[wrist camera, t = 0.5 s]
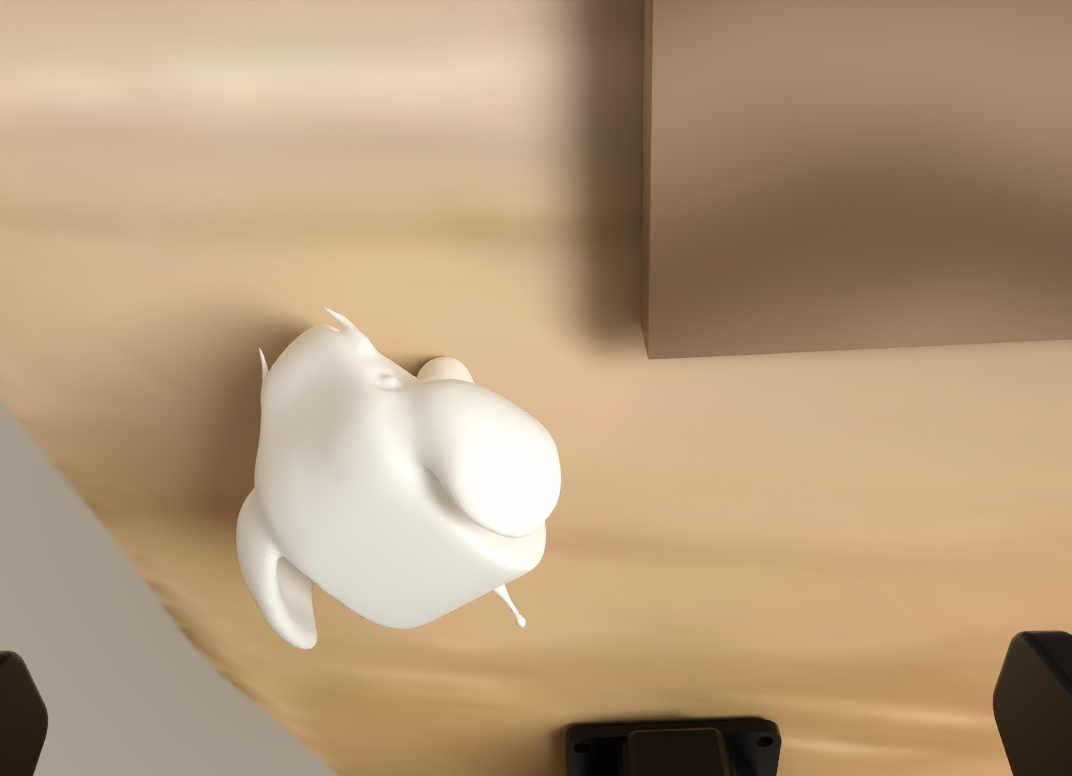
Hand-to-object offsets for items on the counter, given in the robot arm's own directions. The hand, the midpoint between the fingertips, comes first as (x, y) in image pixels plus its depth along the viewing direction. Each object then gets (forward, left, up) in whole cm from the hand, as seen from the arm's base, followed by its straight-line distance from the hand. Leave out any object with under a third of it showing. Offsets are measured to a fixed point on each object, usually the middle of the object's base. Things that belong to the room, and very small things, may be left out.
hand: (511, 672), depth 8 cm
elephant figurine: (-5, +3, -12) cm, 13 cm away
